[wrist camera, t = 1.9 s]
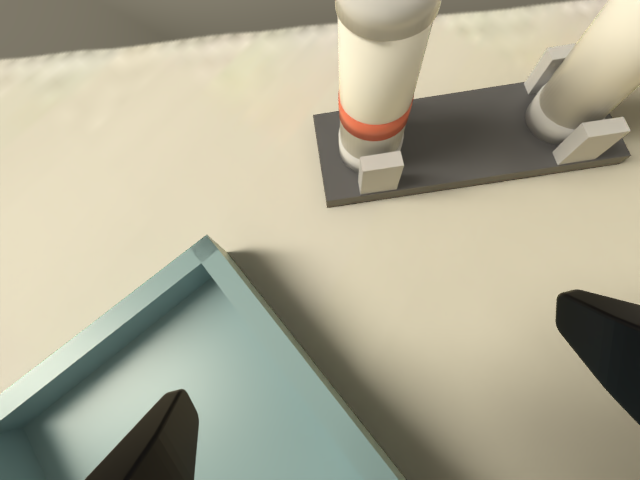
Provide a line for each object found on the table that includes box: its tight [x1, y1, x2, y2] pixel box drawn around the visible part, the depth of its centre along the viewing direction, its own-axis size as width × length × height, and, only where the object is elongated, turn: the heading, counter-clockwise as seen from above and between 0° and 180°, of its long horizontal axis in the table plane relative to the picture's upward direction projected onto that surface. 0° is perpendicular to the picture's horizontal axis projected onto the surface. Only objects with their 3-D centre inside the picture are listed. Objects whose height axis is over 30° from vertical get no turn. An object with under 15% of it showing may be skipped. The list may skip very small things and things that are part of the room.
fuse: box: [525, 0, 640, 146], centre depth 18 cm, size 4×4×12 cm
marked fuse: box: [335, 0, 441, 174], centre depth 18 cm, size 4×4×12 cm
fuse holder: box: [313, 43, 631, 207], centre depth 23 cm, size 7×20×4 cm, turn 98°
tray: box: [0, 235, 406, 480], centre depth 18 cm, size 18×16×4 cm
